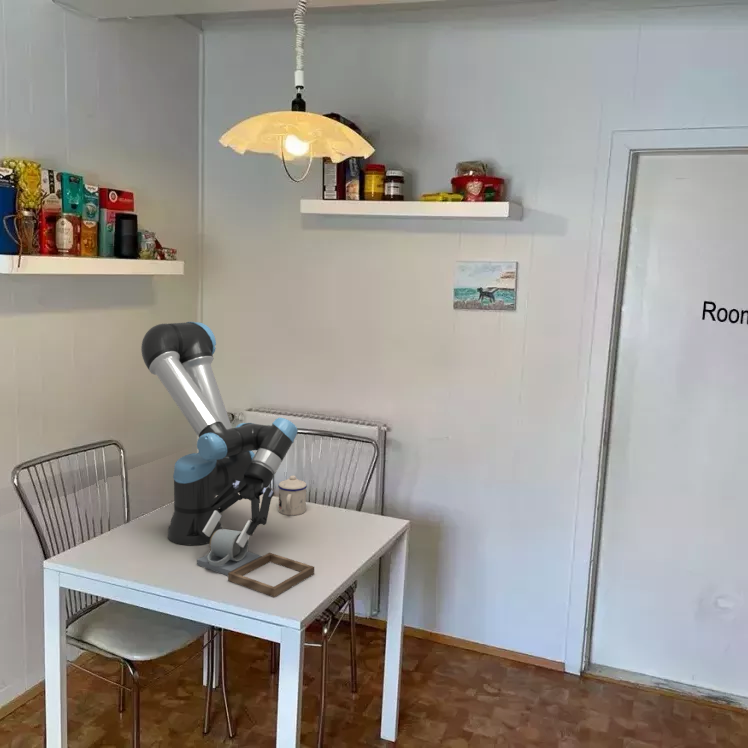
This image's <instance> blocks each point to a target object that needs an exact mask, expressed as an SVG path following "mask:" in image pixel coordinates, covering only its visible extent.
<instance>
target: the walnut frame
mask: <svg viewBox="0 0 748 748" xmlns="http://www.w3.org/2000/svg"><path fill="white" fill-rule="evenodd" d="M261 556H262V557H260V558H258V559H256V560H254V561H252V562H250V563H248V564H246V565H244V566H242V567H240V568H238V569H236V570H234V571H232V572H229V573H228V576H227V578H228V580H227V582H232V583H234V584H236V585H239V586H241V587H245V588H248V589H250V590H253V591H256V592H258V593H261V594H264V595H267V596H271V597H273V598H275V597H277V596H279V595H280V594H283V593H285V592H286V591H288V590H289V589H291V588H293V587H294V586H296V585H298V584H299V582H300V583H301V582H304V581H305V580H307V579H308V578H310V577H311V575H312V576H314V575H315V566H313V565H310V564H307V563H304V562H300V561H297V560H294V559H290V558H288V557H285V556H281V555H278V554H275V553H271V552H268V553H266V554H264V555H261ZM268 562H269V563H273V564H276V565H278V566H281V565H282V567H284V566H285V567H284V568H289V569H291V570H295V571H297V573H296V574H294V575H293V576H291V577H289V578H287V579H285V580H283V581H282V582H279V583H278V584H276V585H274V586H273V585H270V584H267V583H265V582H262V581H259V580H255V579H253V578H251V577H248V576H245V575H247V574H249V573H251V572H253V571H254V570H257V569H259V568H261V567H263V566H265V565H267V564H268ZM266 563H267V564H266ZM300 571H301V572H300ZM313 574H314V575H313ZM309 576H310V577H309ZM306 578H307V579H306ZM304 579H305V580H304ZM297 583H298V584H297ZM292 586H293V587H292ZM287 589H288V590H287Z"/></svg>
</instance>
